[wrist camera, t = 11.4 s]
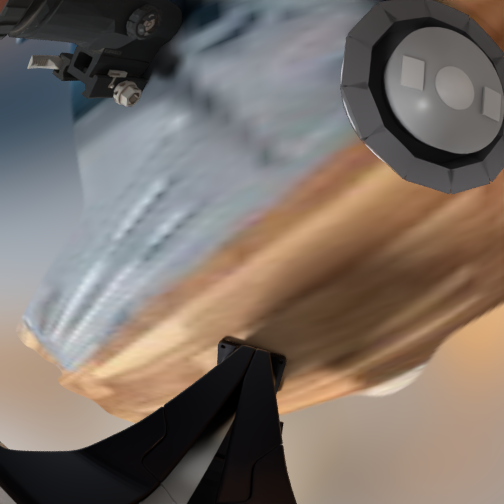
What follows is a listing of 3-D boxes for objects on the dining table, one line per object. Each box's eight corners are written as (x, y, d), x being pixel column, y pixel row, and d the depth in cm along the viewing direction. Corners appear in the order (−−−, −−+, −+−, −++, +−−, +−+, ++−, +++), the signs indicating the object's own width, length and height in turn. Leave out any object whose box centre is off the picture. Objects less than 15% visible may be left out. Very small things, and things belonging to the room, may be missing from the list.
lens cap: (470, 160, 12) (497, 170, 9) (375, 131, 13) (386, 133, 10) (480, 63, 9) (507, 55, 6) (383, 29, 10) (394, 9, 7)
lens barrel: (467, 191, 15) (501, 215, 11) (329, 152, 17) (328, 162, 12) (485, 57, 10) (522, 46, 6) (346, 10, 12) (349, -24, 8)
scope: (-51, 82, 6) (20, -74, 1) (93, 70, 18) (152, -26, 13) (-22, 137, 6) (87, -94, 2) (152, 110, 18) (228, 1, 14)
